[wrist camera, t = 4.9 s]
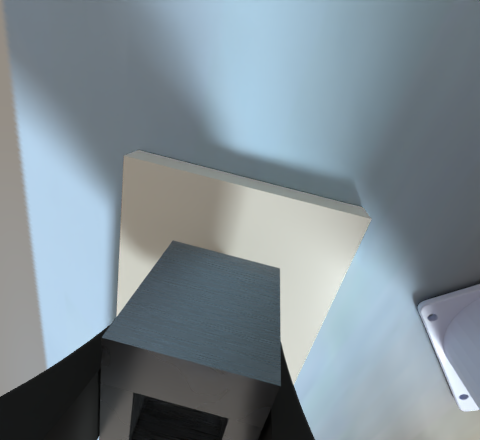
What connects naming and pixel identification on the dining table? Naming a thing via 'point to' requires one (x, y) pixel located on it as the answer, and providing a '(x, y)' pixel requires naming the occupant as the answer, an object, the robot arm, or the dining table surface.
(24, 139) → the dining table surface
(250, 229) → the housing base
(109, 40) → the dining table surface
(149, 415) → the grey hollow block
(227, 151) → the dining table surface
